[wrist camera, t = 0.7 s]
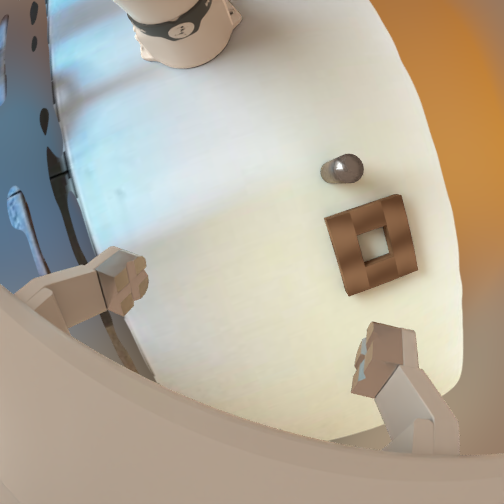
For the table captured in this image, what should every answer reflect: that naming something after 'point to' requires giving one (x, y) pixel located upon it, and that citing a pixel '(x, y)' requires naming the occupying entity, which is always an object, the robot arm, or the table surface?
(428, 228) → the table surface
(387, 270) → the socket plate
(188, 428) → the robot arm
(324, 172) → the steel pin
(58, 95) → the table surface
